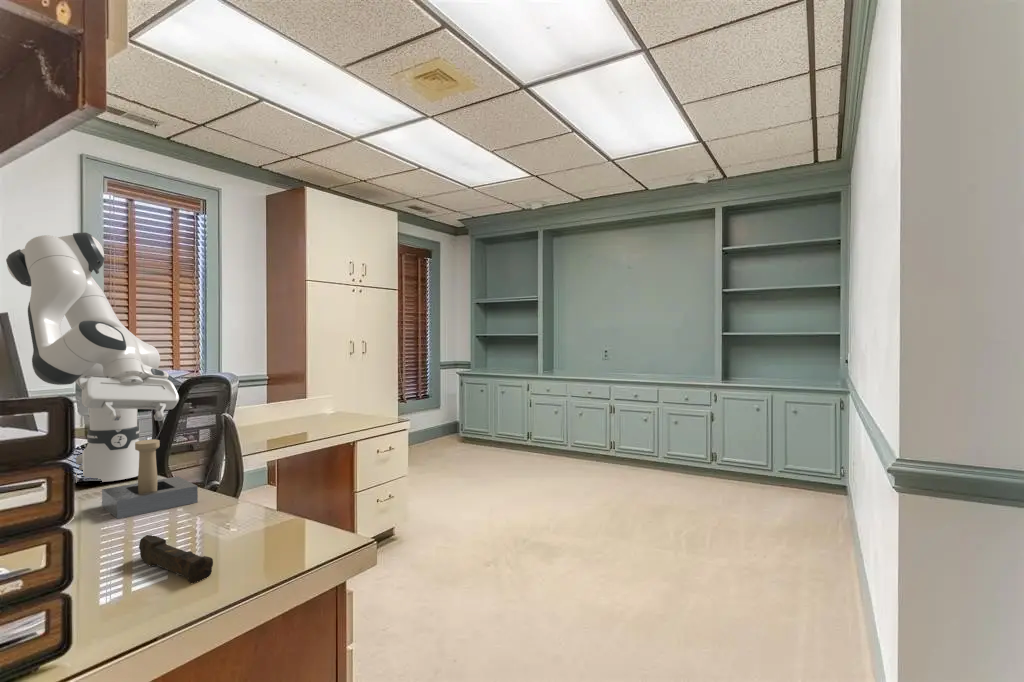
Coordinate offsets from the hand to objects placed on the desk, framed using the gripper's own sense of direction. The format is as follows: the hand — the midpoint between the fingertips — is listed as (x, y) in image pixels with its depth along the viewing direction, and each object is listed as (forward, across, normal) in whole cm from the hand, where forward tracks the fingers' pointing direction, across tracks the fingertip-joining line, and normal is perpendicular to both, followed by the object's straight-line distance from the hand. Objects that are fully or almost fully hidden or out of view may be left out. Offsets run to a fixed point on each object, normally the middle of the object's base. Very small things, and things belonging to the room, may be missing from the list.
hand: (138, 418), depth 130 cm
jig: (+17, +3, +11) cm, 21 cm away
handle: (+17, +3, +12) cm, 21 cm away
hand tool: (+50, -12, -17) cm, 55 cm away
